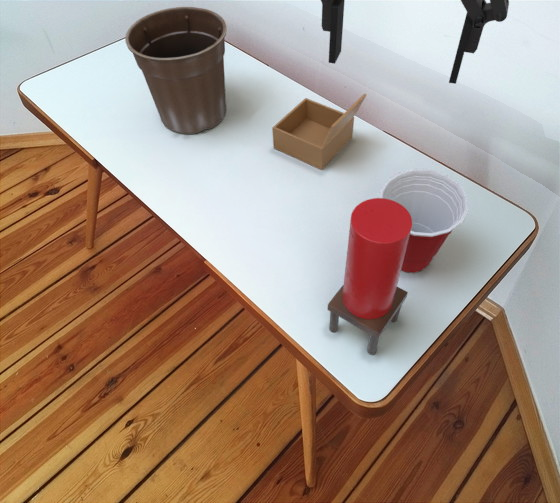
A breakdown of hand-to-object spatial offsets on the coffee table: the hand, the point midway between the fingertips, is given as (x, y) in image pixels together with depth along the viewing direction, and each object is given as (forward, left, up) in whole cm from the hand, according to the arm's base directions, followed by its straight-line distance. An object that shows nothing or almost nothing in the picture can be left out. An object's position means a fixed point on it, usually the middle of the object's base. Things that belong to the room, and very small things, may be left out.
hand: (392, 66), depth 58 cm
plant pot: (+39, -4, -25) cm, 47 cm away
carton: (+16, -9, -25) cm, 31 cm away
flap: (+11, -9, -18) cm, 23 cm away
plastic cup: (-8, +4, -25) cm, 27 cm away
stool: (-9, +17, -25) cm, 31 cm away
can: (-9, +17, -19) cm, 27 cm away
